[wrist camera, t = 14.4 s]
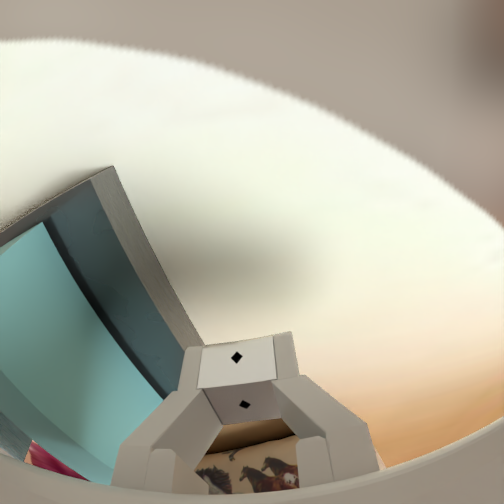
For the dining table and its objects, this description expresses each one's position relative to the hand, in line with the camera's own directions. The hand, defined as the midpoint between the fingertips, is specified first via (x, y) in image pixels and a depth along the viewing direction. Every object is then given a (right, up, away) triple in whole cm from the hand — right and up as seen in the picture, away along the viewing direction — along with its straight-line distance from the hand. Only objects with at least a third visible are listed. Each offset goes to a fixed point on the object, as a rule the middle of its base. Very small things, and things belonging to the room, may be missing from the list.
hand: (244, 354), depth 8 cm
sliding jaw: (-7, -1, +3) cm, 8 cm away
